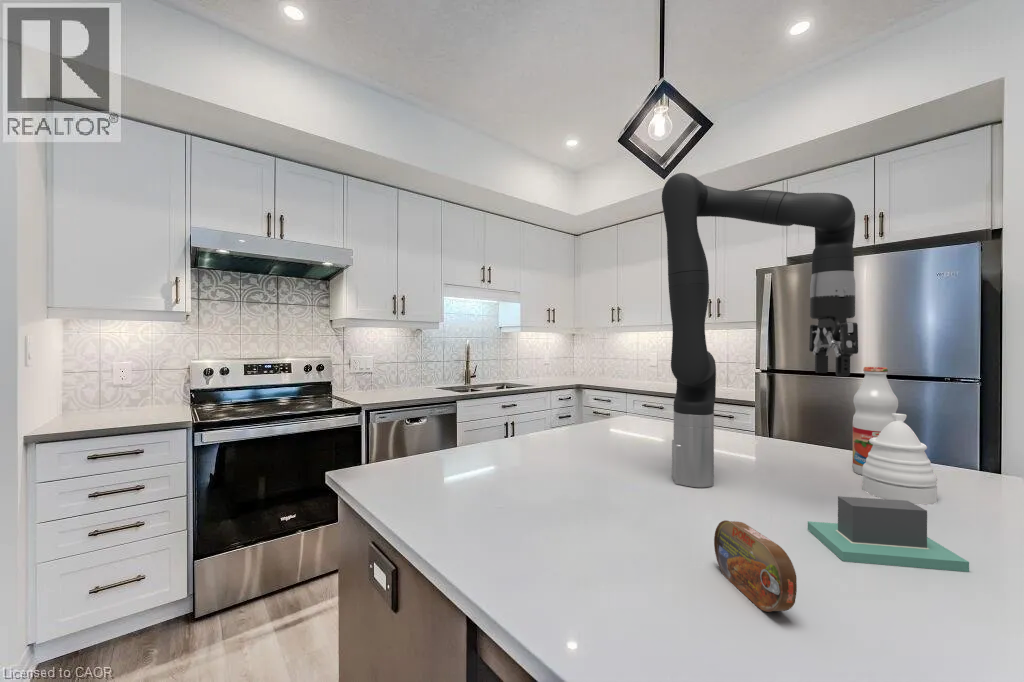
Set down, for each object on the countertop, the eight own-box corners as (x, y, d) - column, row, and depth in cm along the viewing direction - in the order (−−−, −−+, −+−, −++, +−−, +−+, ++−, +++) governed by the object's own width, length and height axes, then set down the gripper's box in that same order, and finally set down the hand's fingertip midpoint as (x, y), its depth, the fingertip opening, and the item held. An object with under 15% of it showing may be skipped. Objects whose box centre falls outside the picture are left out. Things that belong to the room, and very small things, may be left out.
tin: (712, 565, 69) (712, 511, 69) (731, 564, 69) (731, 510, 69) (778, 627, 54) (778, 558, 54) (802, 626, 54) (802, 557, 54)
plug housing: (852, 542, 73) (852, 505, 73) (837, 530, 78) (837, 496, 78) (927, 548, 71) (927, 510, 71) (907, 535, 76) (907, 500, 76)
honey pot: (866, 481, 110) (866, 409, 110) (938, 494, 101) (938, 415, 101) (857, 494, 101) (858, 415, 101) (935, 509, 92) (936, 422, 92)
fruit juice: (898, 473, 117) (898, 367, 117) (900, 482, 109) (900, 368, 109) (852, 467, 123) (853, 365, 123) (851, 475, 115) (852, 367, 115)
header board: (842, 561, 70) (842, 529, 70) (807, 529, 82) (807, 502, 82) (969, 571, 67) (969, 538, 67) (913, 537, 79) (913, 509, 79)
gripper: (796, 298, 99) (796, 371, 99) (829, 292, 85) (828, 376, 85) (834, 298, 97) (834, 372, 97) (874, 291, 83) (873, 377, 83)
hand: (831, 374), depth 91 cm, fingers open, 8 cm apart
